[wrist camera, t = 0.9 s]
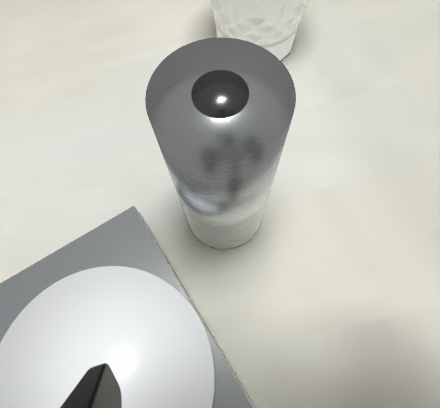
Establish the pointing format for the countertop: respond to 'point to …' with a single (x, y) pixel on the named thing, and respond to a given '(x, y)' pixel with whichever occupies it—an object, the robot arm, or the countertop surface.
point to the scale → (109, 326)
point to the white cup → (260, 22)
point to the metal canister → (221, 132)
